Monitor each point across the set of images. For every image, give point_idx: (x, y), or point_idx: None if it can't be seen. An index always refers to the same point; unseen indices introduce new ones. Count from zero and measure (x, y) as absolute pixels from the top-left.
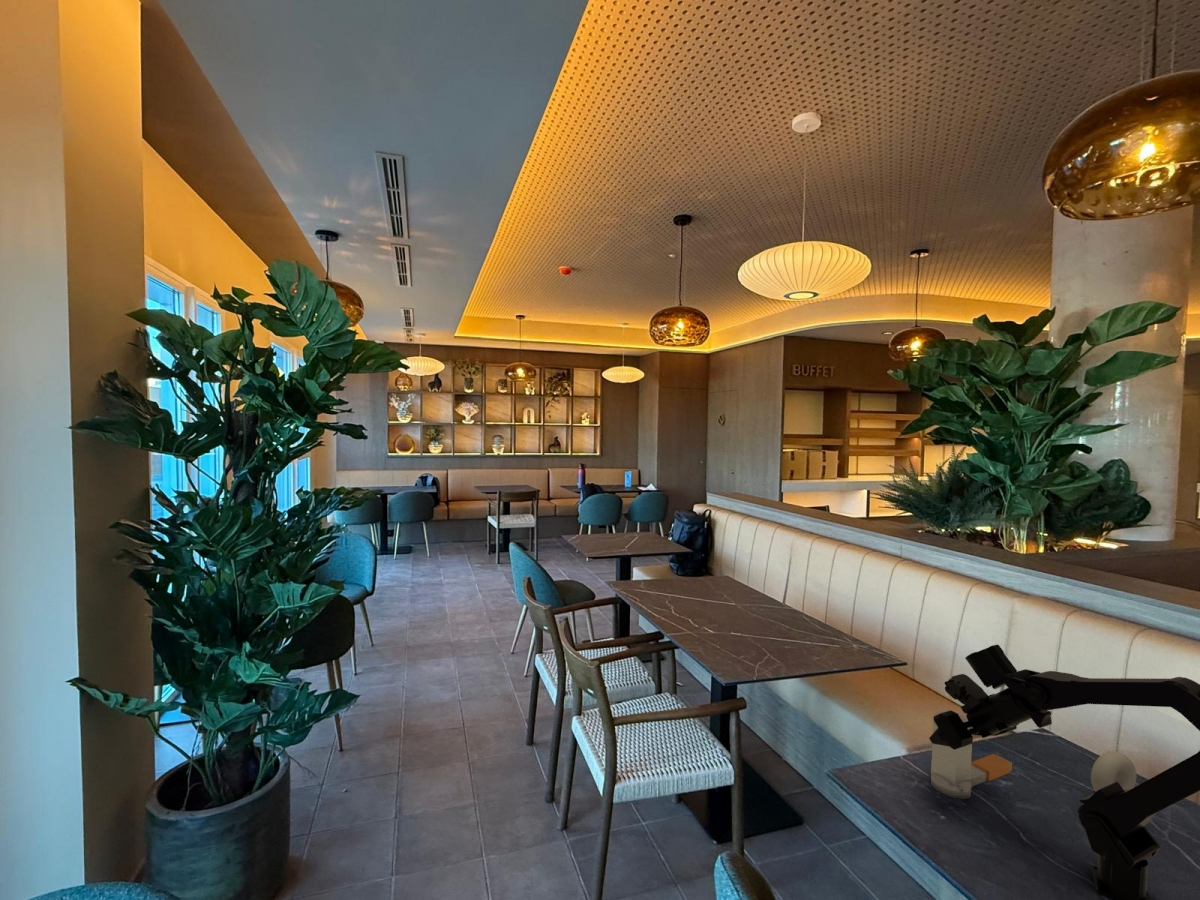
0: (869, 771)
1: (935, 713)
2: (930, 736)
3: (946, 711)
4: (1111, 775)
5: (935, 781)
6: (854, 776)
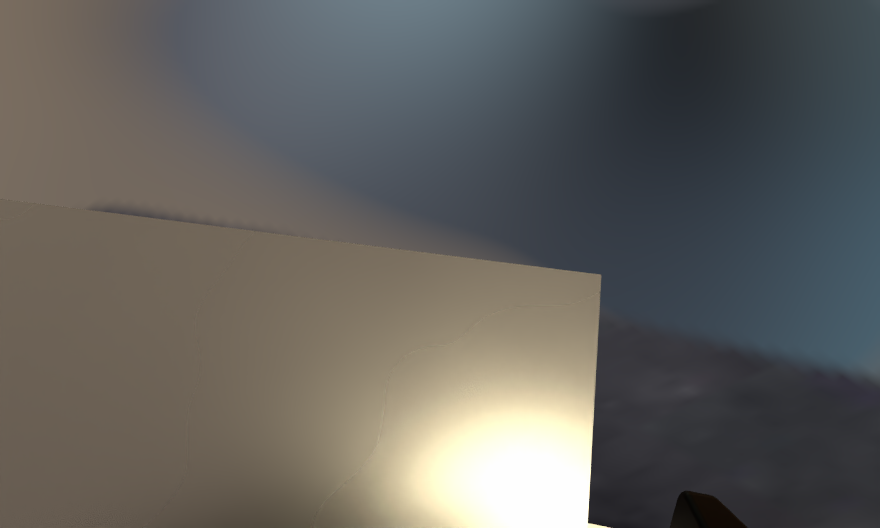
0: (224, 226)
1: (20, 215)
2: None
3: (368, 302)
4: None
5: None
6: (134, 215)
